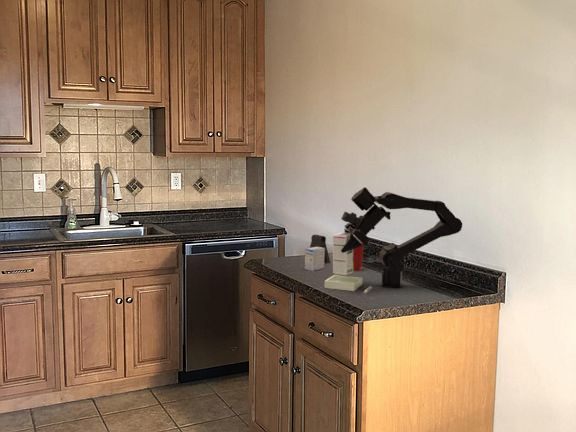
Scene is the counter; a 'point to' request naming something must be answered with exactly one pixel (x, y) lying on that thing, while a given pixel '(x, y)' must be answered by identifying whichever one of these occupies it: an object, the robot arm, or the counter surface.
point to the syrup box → (342, 255)
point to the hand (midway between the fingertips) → (339, 250)
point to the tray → (343, 282)
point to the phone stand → (320, 245)
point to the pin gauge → (367, 289)
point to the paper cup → (358, 257)
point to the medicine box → (314, 258)
